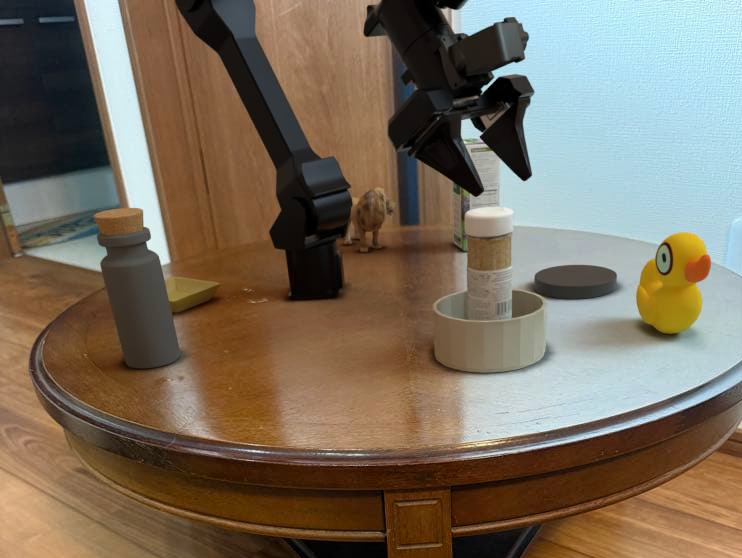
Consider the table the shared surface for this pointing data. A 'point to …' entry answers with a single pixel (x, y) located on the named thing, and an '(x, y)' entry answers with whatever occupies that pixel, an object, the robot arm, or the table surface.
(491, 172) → the syrup box
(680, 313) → the duckling
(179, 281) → the yellow shallow tray
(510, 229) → the sprinkles bottle
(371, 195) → the lion figurine
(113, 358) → the table surface
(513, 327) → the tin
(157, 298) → the bottle
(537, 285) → the stand
